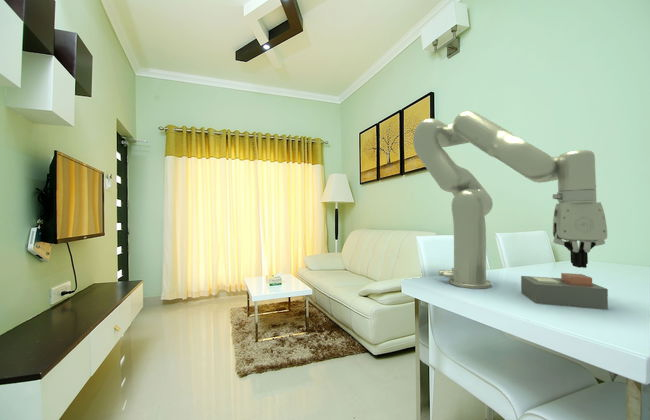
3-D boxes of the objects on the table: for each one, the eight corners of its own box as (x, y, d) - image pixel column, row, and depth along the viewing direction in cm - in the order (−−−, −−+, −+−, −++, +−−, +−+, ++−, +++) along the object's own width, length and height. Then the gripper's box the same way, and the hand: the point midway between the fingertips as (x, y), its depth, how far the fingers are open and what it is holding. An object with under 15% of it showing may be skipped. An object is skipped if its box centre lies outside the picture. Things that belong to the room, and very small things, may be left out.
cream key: (538, 292, 75) (538, 280, 75) (531, 288, 79) (531, 276, 79) (559, 294, 74) (559, 281, 74) (551, 289, 78) (551, 278, 78)
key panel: (535, 303, 73) (535, 284, 73) (521, 292, 82) (521, 275, 82) (607, 309, 69) (607, 289, 69) (583, 297, 78) (583, 279, 78)
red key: (570, 288, 73) (570, 276, 73) (561, 284, 77) (561, 272, 77) (592, 290, 72) (592, 277, 72) (581, 285, 76) (581, 274, 76)
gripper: (550, 198, 73) (552, 268, 73) (622, 195, 69) (625, 270, 68) (537, 199, 80) (539, 263, 80) (602, 197, 76) (604, 265, 75)
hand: (579, 266), depth 74 cm, fingers closed
